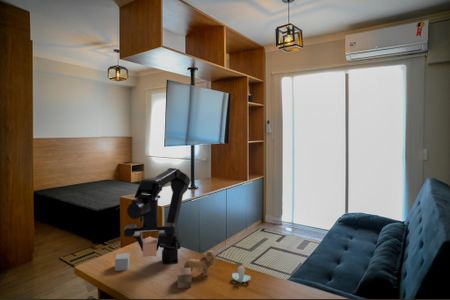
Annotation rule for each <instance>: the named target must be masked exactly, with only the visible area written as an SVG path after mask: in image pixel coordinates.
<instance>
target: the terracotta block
mask: <svg viewBox="0 0 450 300" xmlns="http://www.w3.org/2000/svg"><path fill="white" fill-rule="evenodd" d="M157 240H158V237H156V238H155V237H154V238H144V239H143V252H142V258H145V257H156V256H158V255H157V253H158V252H157Z"/></svg>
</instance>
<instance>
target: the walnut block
mask: <svg viewBox="0 0 450 300" xmlns="http://www.w3.org/2000/svg"><path fill="white" fill-rule="evenodd" d="M192 276H193V275H192V272H191V268H186V267H185V268H184V267H181V268H179V267H178V268H177V280H176V281H177V282H176V283H177V289H181V288H182V289H184V288H191V287H192V279H193V278H192Z"/></svg>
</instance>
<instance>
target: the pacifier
mask: <svg viewBox="0 0 450 300" xmlns="http://www.w3.org/2000/svg"><path fill="white" fill-rule="evenodd" d="M245 272H246V269H245V266H241V265H239V266H238V267H237V272H233V273H232V274H231V277H232V278H233V280H234V281H236V282H238V283H242V282H244V283H246V282H249V281H250V280H251V275H249V274H245Z"/></svg>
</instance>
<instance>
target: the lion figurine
mask: <svg viewBox="0 0 450 300" xmlns="http://www.w3.org/2000/svg"><path fill="white" fill-rule="evenodd" d="M215 259H216V253H215V251H214V250H209V251H206V254H205V255H203V256H202V257H201V258H200V259H194V258H189V259H187V260H186V261H185V263H184V266H183V268H191V273H192V272H193V270H194V269H197V270H200V269H201V270H202V273H203V274H204V275H205V276H206V277H209V276H210V274H209V273H208V271H209V268H211V267H212V266H213V264H214V262H215ZM194 278H195V276H194V275H192V279H194Z"/></svg>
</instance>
